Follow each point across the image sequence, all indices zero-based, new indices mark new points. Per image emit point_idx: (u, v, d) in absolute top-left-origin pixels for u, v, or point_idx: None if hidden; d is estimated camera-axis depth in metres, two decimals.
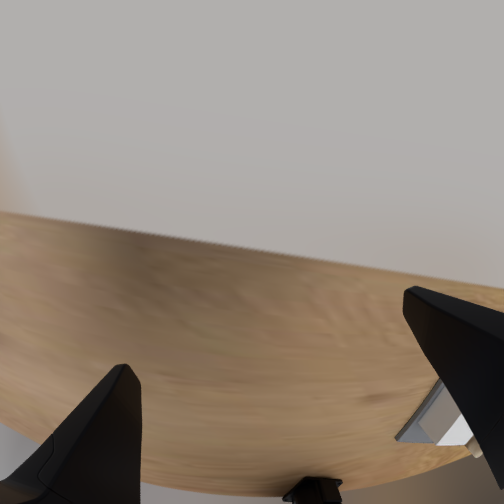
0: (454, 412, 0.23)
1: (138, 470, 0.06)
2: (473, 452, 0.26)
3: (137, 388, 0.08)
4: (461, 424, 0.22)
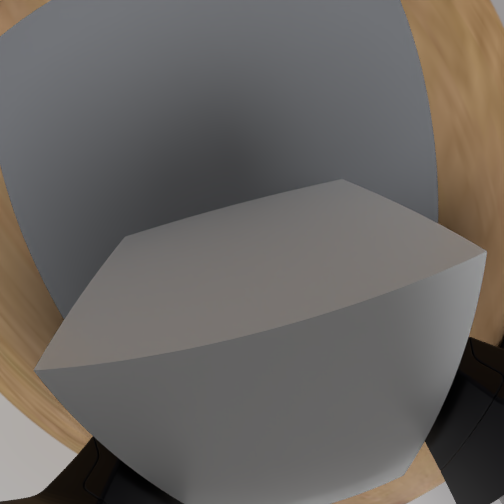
0: None
1: None
2: None
3: None
4: (296, 496, 0.05)
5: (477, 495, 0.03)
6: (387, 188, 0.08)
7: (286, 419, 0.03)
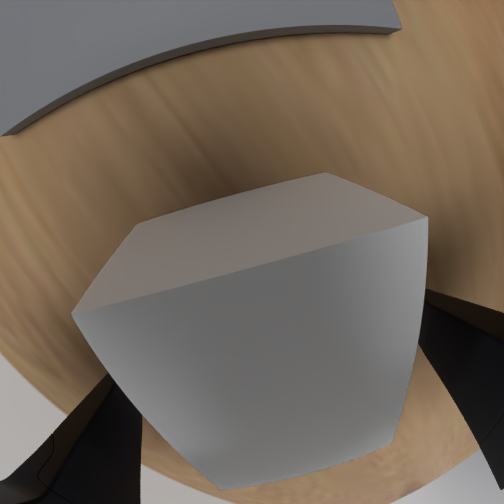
0: None
1: (138, 470, 0.06)
2: None
3: None
4: (288, 454, 0.06)
5: None
6: None
7: (271, 353, 0.05)
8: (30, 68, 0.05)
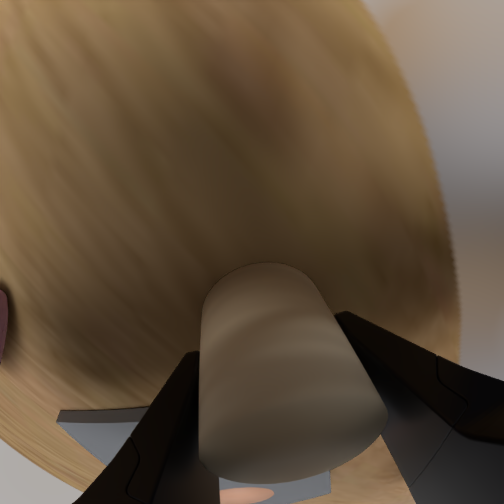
0: None
1: None
2: None
3: None
4: None
5: None
6: None
7: None
8: None
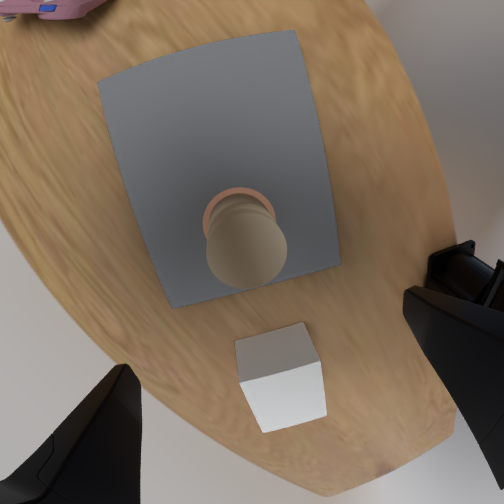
0: None
1: (138, 470, 0.06)
2: None
3: (137, 388, 0.08)
4: (287, 414, 0.22)
5: None
6: (294, 156, 0.18)
7: (283, 386, 0.20)
8: (186, 286, 0.20)
